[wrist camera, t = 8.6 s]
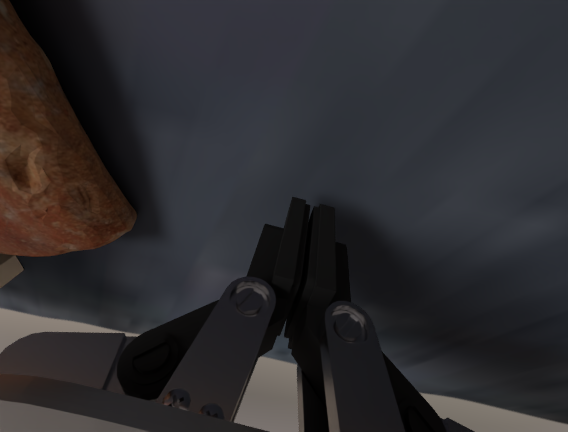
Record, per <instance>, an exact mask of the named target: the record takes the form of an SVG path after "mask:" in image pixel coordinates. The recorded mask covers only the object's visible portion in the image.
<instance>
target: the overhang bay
mask: <svg viewBox="0 0 568 432" xmlns="http://www.w3.org/2000/svg"><path fill="white" fill-rule="evenodd" d="M23 270H24V269H23V267H22V265H21V264H20V262H19V260H18V259H17V257H16V256H15V255H8V254H2V253H0V288H2V287H3V286H4V285H5V284H7V283H8V282H9V281H11V280H12V279H13V278H14V277H16V276H17V275H18V274H20V273H21V272H22V271H23Z"/></svg>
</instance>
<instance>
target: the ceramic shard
mask: <svg viewBox="0 0 568 432" xmlns="http://www.w3.org/2000/svg"><path fill="white" fill-rule="evenodd" d="M136 219H137V214H136V211H135V210H134V208H133V207H132V206H131V205H130V204H129V202H128V201H127V199H126V198H125V196H124V195H123V193H122V192H121V190H120V189H119V187H118V186H117V184H116V183H115V181H114V180H113V178H112V177H111V175H110V174H109V172H108V171H107V169H106V168H105V166H104V164H103V163H102V161H101V159H100V157H99V156H98V154H97V152H96V150H95V149H94V147H93V145H92V143H91V142H90V140H89V138H88V136H87V135H86V133H85V131H84V129H83V128H82V126H81V124H80V122H79V120H78V119H77V117H76V115H75V113H74V111H73V109H72V107H71V105H70V103H69V101H68V99H67V98H66V96H65V94H64V92H63V90H62V88H61V86H60V84H59V81H58V79H57V77H56V75H55V72H54V70H53V68H52V65H51V63H50V61H49V60H48V58H47V56H46V55H45V53H44V52H43V50H42V49H41V47H40V46H39V45H38V44H37V43H36V42H35V41H34V39H33V38H32V37H31V36H30V34H29V33H28V31H27V29H26V28H25V26H24V25H23V23H22V22H21V20H20V18H19V17H18V15H17V13H16V11H15V9H14V8H13V6H12V4H11V2H10V0H0V253H2V254H8V255H19V256H31V257H41V256H54V255H59V254H65V253H68V252H71V251H79V250H89V249H96V248H99V247H101V246H104V245H106V244H109V243H111V242H113V241H115V240H116V239H118V238H119V237H120V236H122V235H123V234H125V233H126V232H129V231H130V230H131V229H132V228H133V226H134V223H135V221H136Z"/></svg>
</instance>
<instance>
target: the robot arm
mask: <svg viewBox="0 0 568 432" xmlns="http://www.w3.org/2000/svg"><path fill="white" fill-rule="evenodd" d="M309 212H310V205H308V204H306V200H303V199H299V198H295V197H292V200H291V204H290V207H289V211H288V215H287V218H286V222H285V226H284V228H280V227H276V226H272V225H268V224H265V225H264V228H263V231H262V234H261V236H260V239H259V242H258V245H257V248H256V251H255V254H254V256H253V259H252V262H251V265H250V268H249V271H248V274H247V277H242V278H238V279H236V280H235V281H233V282H231V284H230V285H229V286H228V287H227V288H226V290H225V291H224V293H223V295H222V296H221V298H220V299H219V300H217V301H215V302H212V303H210V304H208V305H206V306H203V307H201V308H199V309H197V310H194V311H192V312H190V313H188V314H185V315H183V316H181V317H179V318H176V319H174V320H172V321H170V322H167V323H165V324H163V325H160V326H158V327H156V328H154V329H151V330H149V331H147V332H145V333H143V334H141V335H140V336H138V337H126V336H125V333H79V332H77V333H76V332H42V333H34V334H31V335H28V336H26V337H23V338H21V339H18V340H17V341H15V342H14V343H12V344H11V345H9V346H8V347H7V348H5V349H4V350H3V351H2V352H1V354H0V432H268V431H264V430H261V429H257V428H253V427H249V426H245V425H241V424H237V423H234V420H235V418H236V415H237V413H238V410H239V407H240V405H241V402H242V399H243V397H244V394H245V392H246V389H247V386H248V383H249V381H250V378H251V376H252V373H253V371H254V368H255V365H256V362H257V360H258V358H259V357H260V356H262V355H264V354H265V353H267V352H268V351H270V350H271V349H272V348H273V345H274V343H275V340H276V337H277V335H278V336H280V334H281V331H282V329H283V326H284V324H285V321H286V326H285V333H284V337H286V338H289V344H288V348H289V349H292V356H293V357H294V359H295V360H296V362H297V363H298V364H297V389H298V390H297V391H298V419H299V432H474V431H472V430H470V429H468V428H466V427H465V426H463V425H461V424H459V423H457V422H455V421H453V420H451V419H449V418H446V419H442V418H440V417H439V416H438V414H437V413H436V412H435V410H434V409H433V408H432V407H431V406H430V405H429V403H428V402H427V401H426V400H425V399H424V398H423V397H422V396H421V394H420V393H419V392H418V391H417V390H416V389H415V388H414V387H413V386H412V384H411V383H410V382H409V381H408V380H407V379H406V378H405V377H404V376H403V374H402V373H401V372H400V371H399V370H398V369H397V368H396V367H395V365H394V364H393V363H392V362H391V361H390V360H389V359H388V358H387V357H386V355H385V354H384V353H383V352H382V351H381V348H380V344H379V341H378V337H377V334H376V331H375V327H374V325H373V322H372V320H371V318H370V317H369V316H368V314H367V313H366V312H365V311H364V310H363V309H362V308H360V307H359V306H357V305H355V304H354V303H351V296H350V283H349V269H348V256H347V247H346V245H344V244H341V243H337V242H335V209H334V208H333V207H330V206H326V205H322V204H320V206H319V207H315V206H314V208H313V211H312V213H311V216H310V219H309ZM308 220H309V222H308ZM286 319H287V320H286Z"/></svg>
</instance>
